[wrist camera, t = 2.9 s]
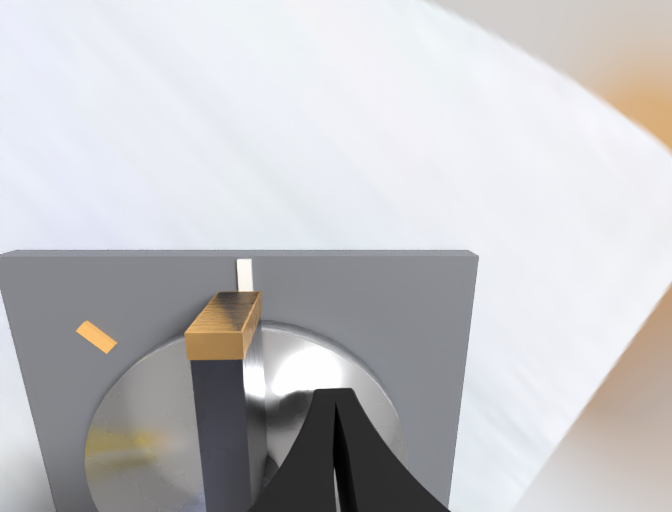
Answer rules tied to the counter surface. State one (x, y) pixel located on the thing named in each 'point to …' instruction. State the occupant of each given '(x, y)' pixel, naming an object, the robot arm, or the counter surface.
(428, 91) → the counter surface
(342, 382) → the dial
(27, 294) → the dial plate
